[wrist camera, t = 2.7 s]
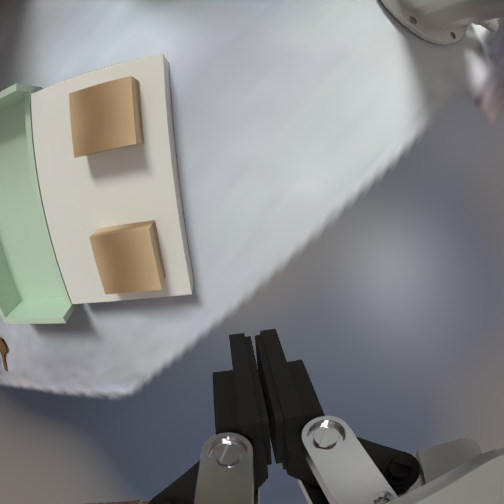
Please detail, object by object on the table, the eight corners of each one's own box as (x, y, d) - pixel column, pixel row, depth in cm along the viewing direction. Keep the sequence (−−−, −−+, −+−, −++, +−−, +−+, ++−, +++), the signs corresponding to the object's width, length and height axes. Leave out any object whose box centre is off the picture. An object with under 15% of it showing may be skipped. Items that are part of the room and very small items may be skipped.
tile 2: (154, 220, 20) (148, 228, 18) (165, 276, 22) (161, 289, 20) (99, 228, 19) (89, 237, 18) (113, 282, 21) (105, 294, 19)
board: (168, 62, 18) (163, 53, 15) (193, 279, 25) (191, 294, 22) (46, 96, 17) (31, 94, 15) (82, 290, 24) (72, 303, 22)
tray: (41, 87, 16) (16, 83, 13) (81, 299, 24) (65, 323, 20) (-19, 118, 16) (-45, 120, 12) (21, 303, 23) (4, 323, 20)
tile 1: (139, 81, 16) (131, 75, 14) (144, 142, 18) (136, 143, 16) (81, 96, 16) (69, 93, 14) (86, 155, 17) (74, 158, 16)
